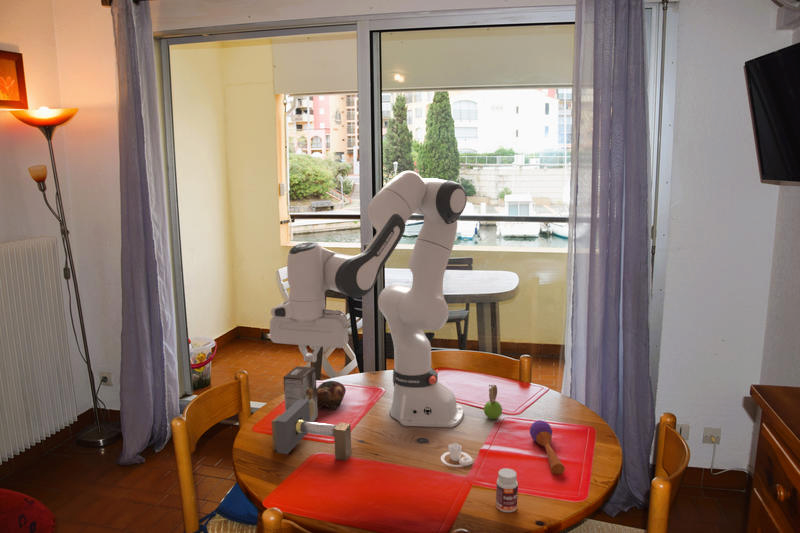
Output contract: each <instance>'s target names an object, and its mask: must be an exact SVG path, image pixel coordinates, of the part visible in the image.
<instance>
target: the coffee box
mask: <svg viewBox="0 0 800 533" xmlns="http://www.w3.org/2000/svg"><path fill="white" fill-rule="evenodd" d="M283 387H284V388H283V390H284V407H285V411H286V410H287V409H288V408H290V407H291V406H292V405H293V404H294V403H295V402H296V401H297V400H298V399H307V400H309V406H310V422H316V419H317V418H318V417H319V411H318V410H319V408H317V372H316V367H314V366H313V367H312V366H301V365H300V366H299V365H296V366H295V367H294V368H293V369H292V370H290V371H289V372H288V373H287V374H286V375H284V376H283Z"/></svg>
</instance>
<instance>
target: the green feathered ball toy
mask: <svg viewBox="0 0 800 533" xmlns="http://www.w3.org/2000/svg"><path fill="white" fill-rule="evenodd" d="M488 387H489V389H488V391H489V392H488V399H489V400H488V401H487V402H486V403H485V404H484V406H483V412H484V415H485V417H487V418H488V419H491V420H496V419H498V418H500V417H501V415H502V413H503V407H502V405H501V403H500V402H499V401H497V400H496V399H497V395H498V386H497V385H496V384H489V385H488Z"/></svg>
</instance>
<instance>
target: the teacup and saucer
mask: <svg viewBox="0 0 800 533" xmlns="http://www.w3.org/2000/svg"><path fill="white" fill-rule="evenodd" d="M447 450H448V451H447V452H444V453H443V454H441V456H440V461H441V462H442V463H443V465H446V466H448V467H453V468H461V467H465V466H466V467H468V466H471V465H472V464H473V462H474V459H473V458H472V457H471V456H470V455H469V454H468V453H466V452H465V451H462V445H461V444H460V443H457V442H453V443H449V444H448V445H447ZM448 455H450V459H451V461H453V462H458V463H459V464H452V463H449V462H447V461H446V459H445V458H446V456H448ZM462 455H463V456H462ZM461 456H462V457H461Z"/></svg>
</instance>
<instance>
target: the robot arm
mask: <svg viewBox="0 0 800 533" xmlns="http://www.w3.org/2000/svg"><path fill="white" fill-rule="evenodd" d="M466 205H467V194H466V190H465V188H464V186H463V185H462V184H460V183H458V182H456V181H453V180H445V179H441V178H435V177H430V178H426V177H421V175H420V174H418V173H417V172H414V171H412V170H404V171H401V172H400V173H398V174H397V175H396V176H394V177H392V178H391V179H390V180H389V181H388V182H387V183H385V185H383V187H382V188H381V189H380V190H379V191H377V193H376V194H374V196H373V198H371V200H370V202H369V203H368V206H367V217H368V219H369V222H370V224H371V225H372V227H373V228H374V229H375V230H376V234H375V235H374V236H373V238H372V239H371V240H370V242H369V243H368V245H367V246H366V247H365V249H364V250H363V251H362V252H361V253H359V254H354V255H351V254H350V255H349V254H345V253H341V252H337V251H333V250H329V249H327V248H325V247H323V246H322V245H320V244H319V243H318V242H314V241H311V242H310V241H308V242H302V243H298V244H296V245H293V246H292V247H291V248H290V250H289V251H288V254H287V255H288V256H287V262H286V263H287V265H286V266H287V267H286V268H287V272H286V273H287V275H286V276H287V282H288V286H289V294H288V300H287V301H283V302H282V303H279V304H277V305H276V306H273V307H272V308H271V310H270V314H271V319H270V321H269V338H270V340H271V342H272V343H274V344H283V345H284V344H285V345H296V346H297V345H298V349H299V350H298V351H300V353H301V354H302V356H303V362H307V363H316V362H317V360H318V353H319V351H320V349H321V348H332V349H333V348H335V349H343V348H344V347H346V345H347V344H348V343H349V331H348V327H347V326H348V316H347V314H345V313H344V312H342V310H337V309H336V310H333V309H326V294H325V293H326V291H327V290H331V291H334V292H338V293H341V294H343V295H345V296H348V297H350V298H352V299H360V298H363V297H365V296H366V295H367V294H369V293H370V292H371V291H372V289H373V288H374V286H375V284H376V283H377V280H378V277H379V275H380V272H381V270H382V269H383V267H384V266H385V264H386V262H387V261H388V259H389V258H390V257H391V255H392V254H393V252H394V251H395V249H396V248H397V247H398V244H399V243H400V241H401V239H402V237H403V236H404V233H405V231H406V223H407V222H408V220H409V219H410V218H411V217H412V215H414V214H416V215H419V216H423V224H422V226H421V228H420V230H419V233H418V235H417V237H416V240H415V243H414V246H413V249H412V252H411V254H410V258H409V260H408V268H409V270H410V272H411V273H412V285H411V286H410V287H409V286H406V285H403V284H402V285H401V284H395V285H393V284H392V285H388V286H385V287H384V288H383V289H382V290H381V292H380V294H379V295H378V299H377V305H378V309H379V311H380V312H381V314H382V315H383V316H384V318H385V320H386V322H387V325H388V328H389V331H390V334H391V339H392V343H393V349H394V350H393V353H394V354H393V358H394V368H393V369H392V370H393V371H392V383H393V397H392V402H391V407H390V409H389V414H390V416H391V417H392V418H394V419H395V420H396V421H398V422H399V423H400V424H401V426H403V427H430V428H431V427H433V428H435V427H436V428H454V427H455V426H457V425H460V423H461V422H462V420H463V417H464V416H465V415H464V414H465V413H464V411H465V410H464V407H463V406H462V405H460V404H457V400H456V399H457V398H456V396H455V394H454V392H453V391H452V390H451V389H450V388H448V387H447V386H445V385H444V384H443V383H442V382H440V381H439V380H438V374H439V370H438V369H436V370H434V368H432V346H431V342H430V340H429V339H428V337H427V336H426V334H425V333H424V331H430V332H431V331H435V332H436V331H438V330H440V329H442V328H443V327H444V326H445V325H446V323H447V322H448V318H449V314H450V310H449V306H448V303H447V301H446V299H445V296H444V276H445V273H446V269H447V266H448V264H449V260H450V257H451V254H452V251H453V247H454V244H455V241H456V236H457V230H458V220H459V218H460V216H461V215H462V213H463V212H464V210H465V208H466ZM307 346H308V347H309V346H310V347H311V350H312V351H313V352H309V351H308V348H307Z"/></svg>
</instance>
